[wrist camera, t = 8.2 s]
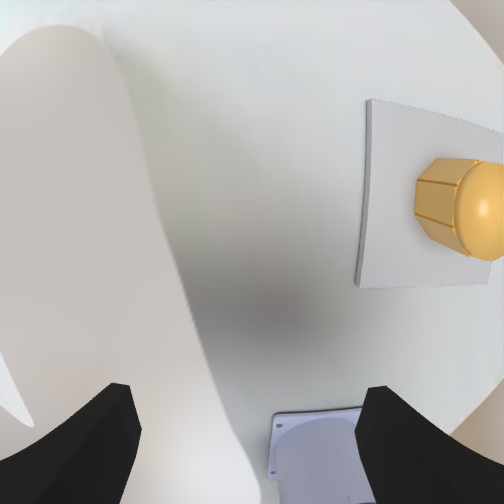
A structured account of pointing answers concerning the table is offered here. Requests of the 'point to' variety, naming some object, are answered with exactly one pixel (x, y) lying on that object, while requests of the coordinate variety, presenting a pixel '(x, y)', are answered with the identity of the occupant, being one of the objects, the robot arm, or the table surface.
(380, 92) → the table surface
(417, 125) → the plate
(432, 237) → the wire nut
